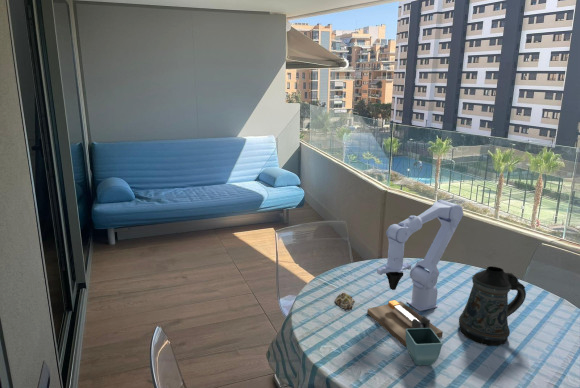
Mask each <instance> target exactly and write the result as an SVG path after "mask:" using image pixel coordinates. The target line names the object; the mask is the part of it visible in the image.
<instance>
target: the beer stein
mask: <svg viewBox="0 0 580 388" xmlns="http://www.w3.org/2000/svg"><path fill="white" fill-rule="evenodd" d="M471 277H472V278H471V279H472V288H471V291H470V293H469V295H468V300H467V302H466V304H465V307H464V308H463V311H462V312H461V314H460V315H459V318H458V326H459V331H460V333H461V334H462V335H463V337H464V338H466V339H468V340H470V341H472V342H474V343H476V344H480V345H484V346H489V347H490V346H491V347H500V346H503V345H504V344H505V343H506V342H507V341H508V338H509V336H510V332H511V331H510V328H509V323H508V322H509V321H508V317H510V316H511V315H513V314H514V313H515V312H516V311H517V310H519V308H520V307H521V306H522V305H523V304H524V302H525V300H526V297H527V292H526V286H525V285H524V284H523V283H520V281H519V279H518V277H516V275H514V273H512V272H505V271H504V269H503V268H501V267H497V266H487V267H486V269H484V270H481V271H479V272H476V273H475V274H473V275H472V276H471ZM510 291H517V292H516V295H515V297H514V298H513V299H512V300H511V301H510V302H509V301H508V300H509V299H508V294H509V292H510ZM508 302H509V303H508Z"/></svg>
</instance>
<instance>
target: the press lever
mask: <svg viewBox="0 0 580 388" xmlns="http://www.w3.org/2000/svg"><path fill="white" fill-rule="evenodd" d="M398 302H399V301H397V300H396V299H393V300H390V301H388V302H387V303H388V306H389V307H390V308H391V309H394V310H396V311H397V312H398V313H399V314H401V315H402V316H403V317H404V318H405V319H407V320H408V321H409V322H410V323H411V324H412V320H413V319H416V318H415V317H414V316H413V315H411V314H410V313H409V312H408V311H406V310H405V309H404V308H402V307H401V306H400V304H399V303H398ZM416 320H417V321H419V320H418V319H416ZM419 322H420V321H419ZM420 323H421V322H420ZM420 328H425V325H424V323H421V326H420Z"/></svg>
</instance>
